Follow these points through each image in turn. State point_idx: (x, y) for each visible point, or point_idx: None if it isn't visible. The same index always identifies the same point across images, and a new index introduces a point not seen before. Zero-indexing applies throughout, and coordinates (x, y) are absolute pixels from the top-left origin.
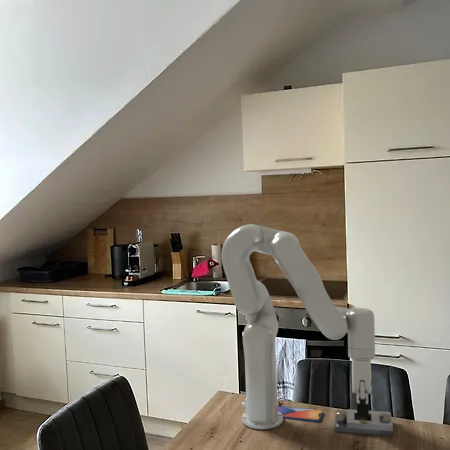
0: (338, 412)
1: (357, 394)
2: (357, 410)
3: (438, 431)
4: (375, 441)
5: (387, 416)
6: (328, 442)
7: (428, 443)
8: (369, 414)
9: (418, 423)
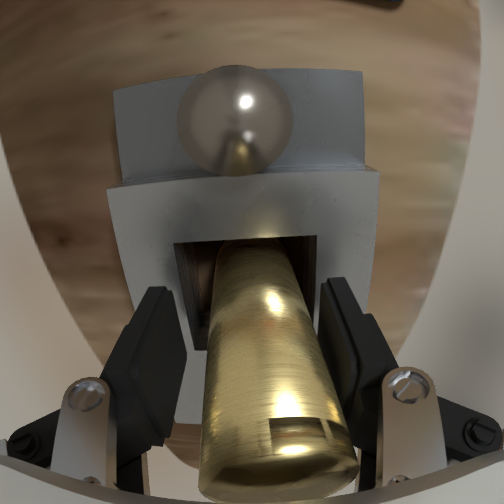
0: (226, 94)
1: (232, 442)
2: (135, 320)
3: None
4: (104, 320)
5: None
6: (14, 101)
7: (181, 450)
8: None
9: None
